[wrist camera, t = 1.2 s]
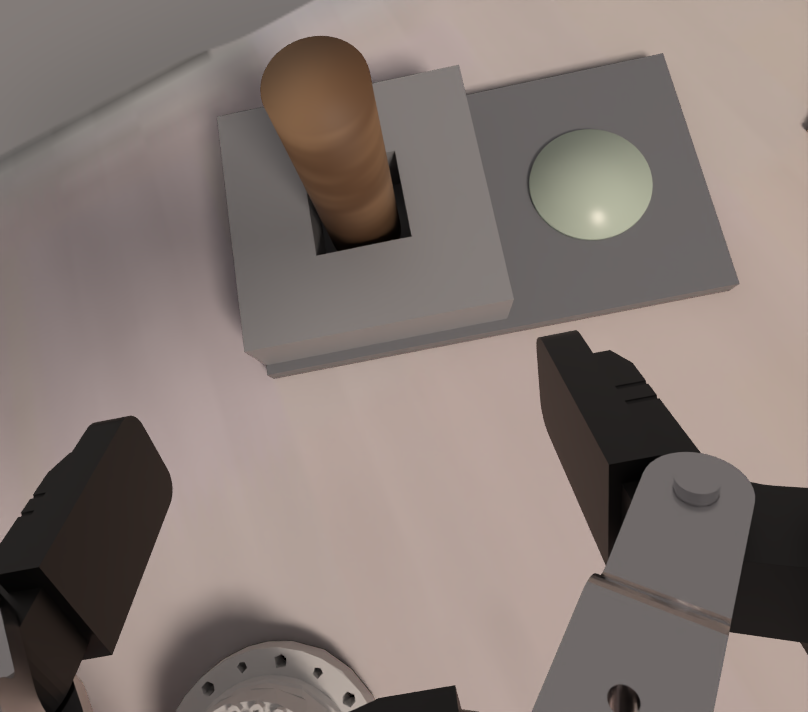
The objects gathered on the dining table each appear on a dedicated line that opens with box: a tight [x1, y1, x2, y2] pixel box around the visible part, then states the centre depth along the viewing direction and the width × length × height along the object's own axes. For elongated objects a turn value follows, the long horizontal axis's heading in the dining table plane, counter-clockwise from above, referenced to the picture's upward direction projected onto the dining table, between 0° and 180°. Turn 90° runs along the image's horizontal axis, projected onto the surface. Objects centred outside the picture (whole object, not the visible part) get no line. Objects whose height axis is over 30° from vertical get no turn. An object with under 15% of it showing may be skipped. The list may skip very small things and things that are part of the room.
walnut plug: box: [260, 36, 401, 251], centre depth 24 cm, size 4×4×11 cm
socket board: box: [217, 53, 739, 379], centre depth 28 cm, size 23×13×4 cm, turn 100°
